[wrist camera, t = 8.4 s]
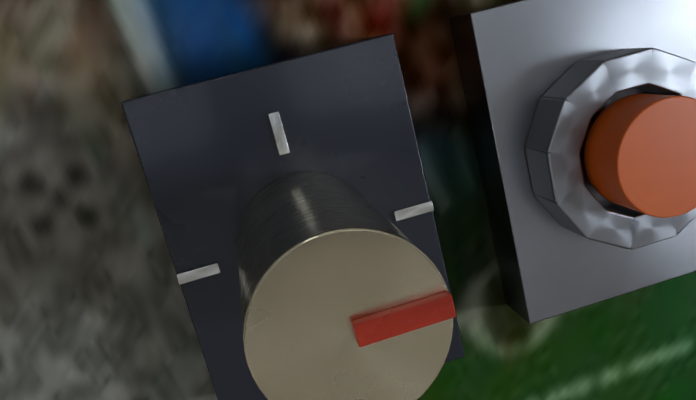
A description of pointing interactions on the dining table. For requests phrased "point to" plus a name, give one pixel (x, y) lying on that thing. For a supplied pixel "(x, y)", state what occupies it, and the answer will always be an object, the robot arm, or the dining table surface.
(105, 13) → the dining table surface
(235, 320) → the panel
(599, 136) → the button
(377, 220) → the dial
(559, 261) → the block
